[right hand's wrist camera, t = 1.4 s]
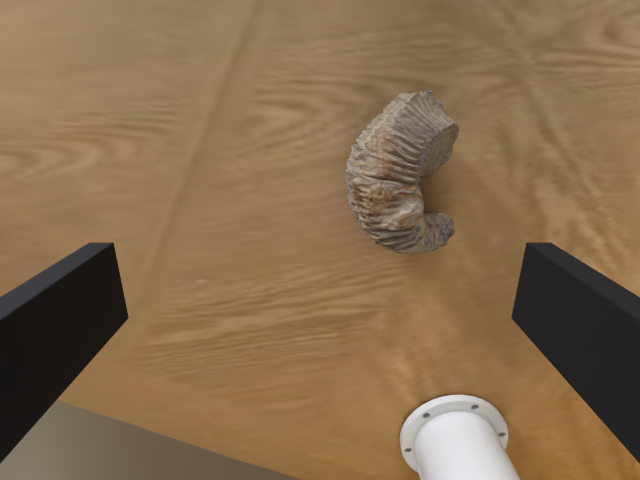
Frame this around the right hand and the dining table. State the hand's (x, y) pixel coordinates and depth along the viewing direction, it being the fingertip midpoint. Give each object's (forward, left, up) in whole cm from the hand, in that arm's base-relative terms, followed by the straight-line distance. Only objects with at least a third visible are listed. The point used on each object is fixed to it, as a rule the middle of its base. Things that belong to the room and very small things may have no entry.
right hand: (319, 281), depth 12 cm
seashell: (-2, +8, -24) cm, 25 cm away
